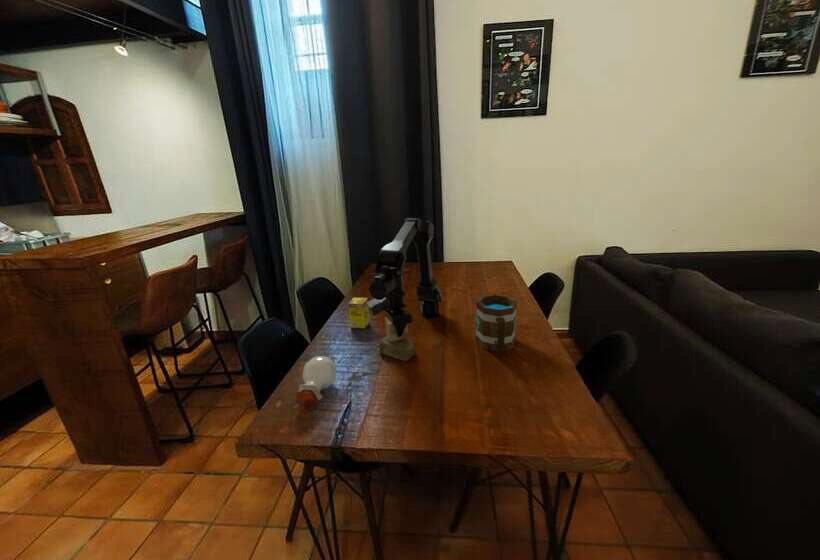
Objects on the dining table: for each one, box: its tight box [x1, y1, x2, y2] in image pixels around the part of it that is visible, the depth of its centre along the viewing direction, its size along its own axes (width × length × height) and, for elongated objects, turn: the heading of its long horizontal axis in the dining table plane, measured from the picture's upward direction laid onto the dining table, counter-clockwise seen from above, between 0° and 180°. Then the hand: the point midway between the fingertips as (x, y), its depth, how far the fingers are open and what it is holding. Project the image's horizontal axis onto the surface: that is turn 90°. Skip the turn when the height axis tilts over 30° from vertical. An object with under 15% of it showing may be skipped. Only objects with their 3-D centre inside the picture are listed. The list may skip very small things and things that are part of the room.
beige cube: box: [384, 315, 409, 342], centre depth 112 cm, size 6×6×6 cm
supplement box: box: [347, 297, 371, 331], centre depth 133 cm, size 6×6×11 cm
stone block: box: [378, 335, 416, 362], centre depth 114 cm, size 6×12×5 cm, turn 59°
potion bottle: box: [295, 355, 338, 410], centre depth 96 cm, size 9×10×15 cm
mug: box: [474, 293, 518, 353], centre depth 113 cm, size 20×14×15 cm
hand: (397, 332), depth 113 cm, fingers closed on beige cube, 6 cm apart
